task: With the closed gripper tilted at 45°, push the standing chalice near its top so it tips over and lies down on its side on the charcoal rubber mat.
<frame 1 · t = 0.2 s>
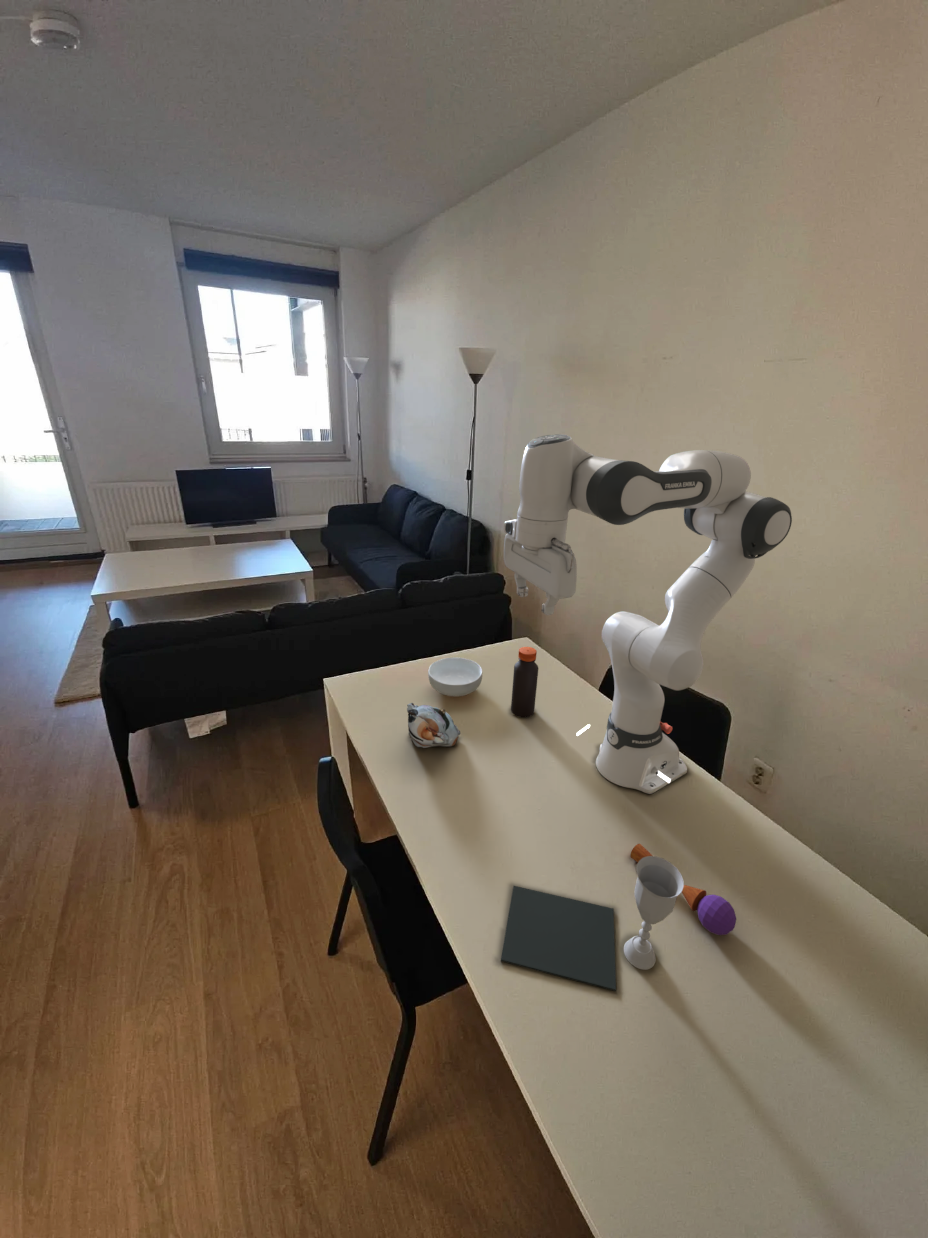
hand: (534, 604, 95), 48 cm above the table, tool pointing down, fingers open, 8 cm apart
chalice: (639, 954, 83), on the table
mat: (559, 934, 86), on the table
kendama: (677, 896, 93), on the table
bottle: (522, 712, 147), on the table
lucky cat figurine: (433, 742, 133), on the table
cereal bowl: (454, 690, 157), on the table
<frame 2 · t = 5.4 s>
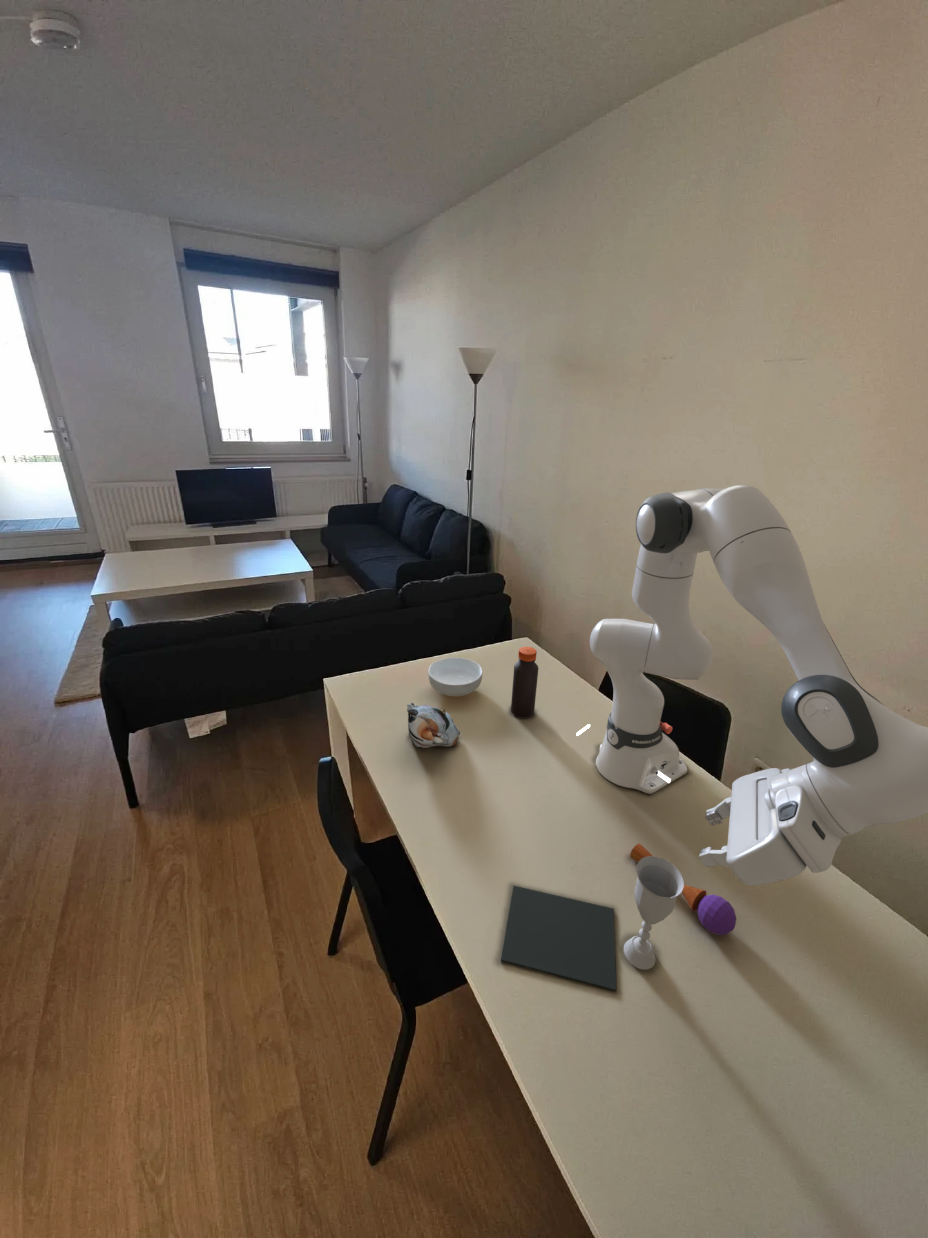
hand: (705, 837, 72), 27 cm above the table, tool tilted 45°, fingers open, 8 cm apart
nothing on the table moved.
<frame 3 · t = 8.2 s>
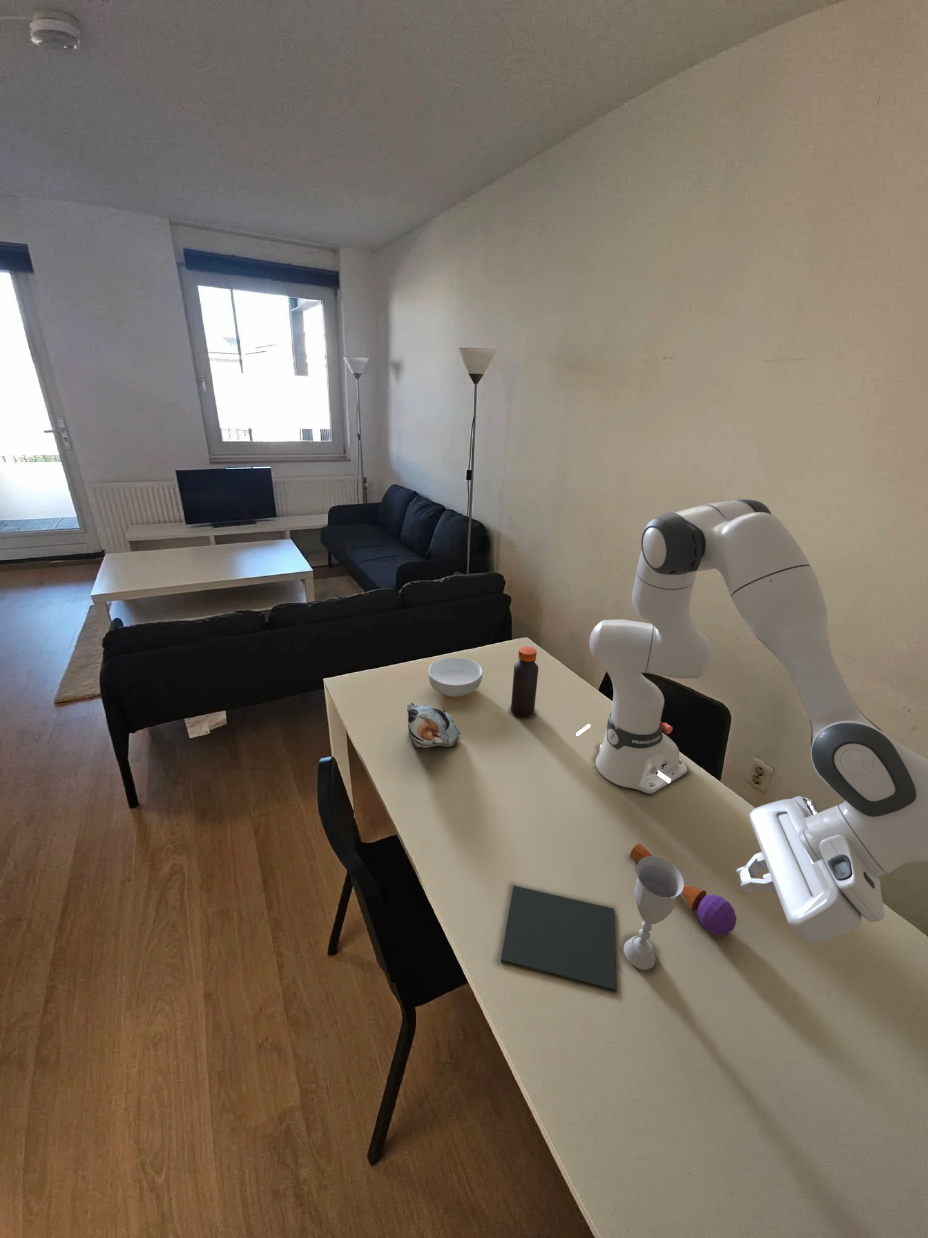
hand: (740, 882, 73), 20 cm above the table, tool tilted 45°, fingers closed
nothing on the table moved.
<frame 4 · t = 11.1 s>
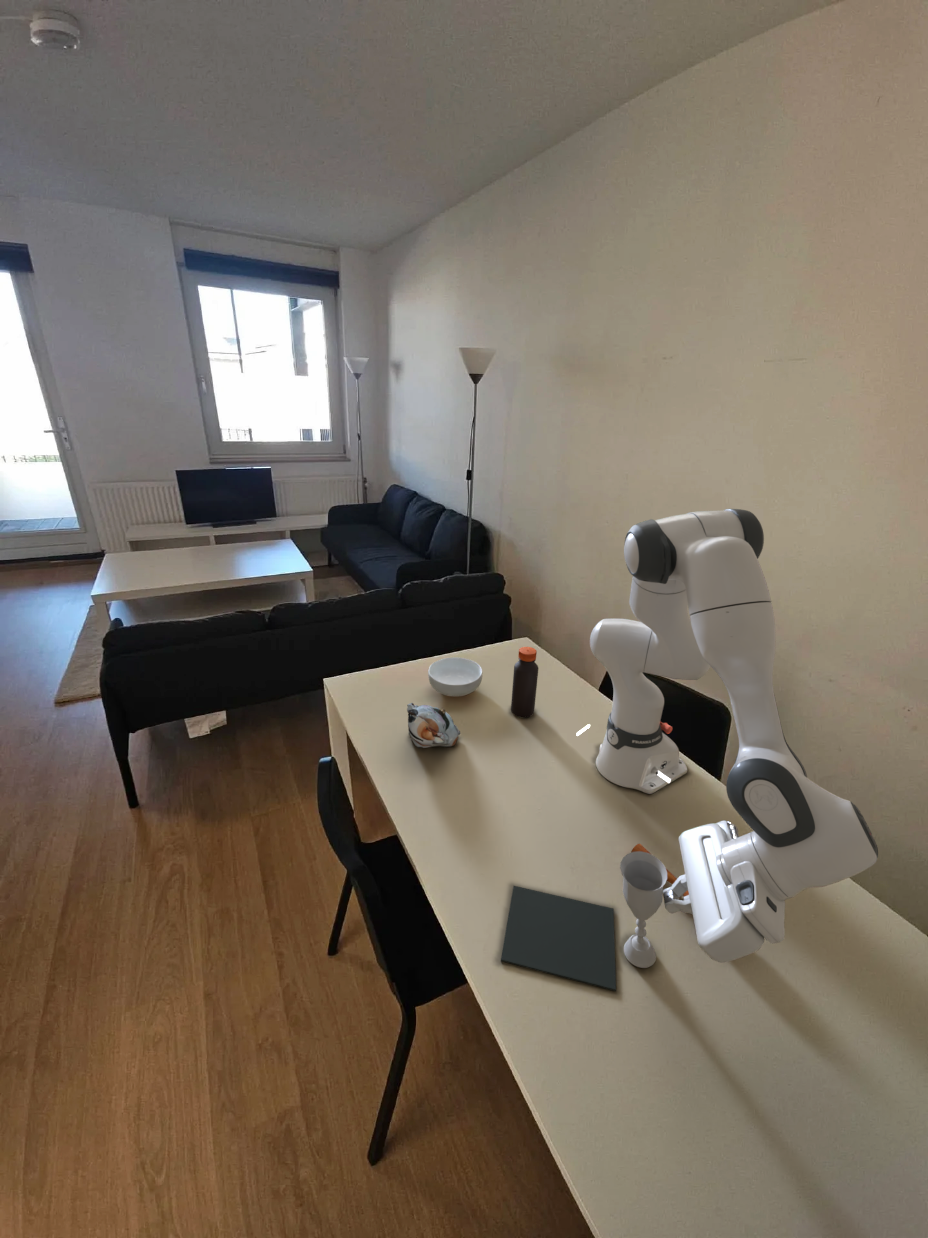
hand: (665, 902, 78), 13 cm above the table, tool tilted 45°, fingers closed
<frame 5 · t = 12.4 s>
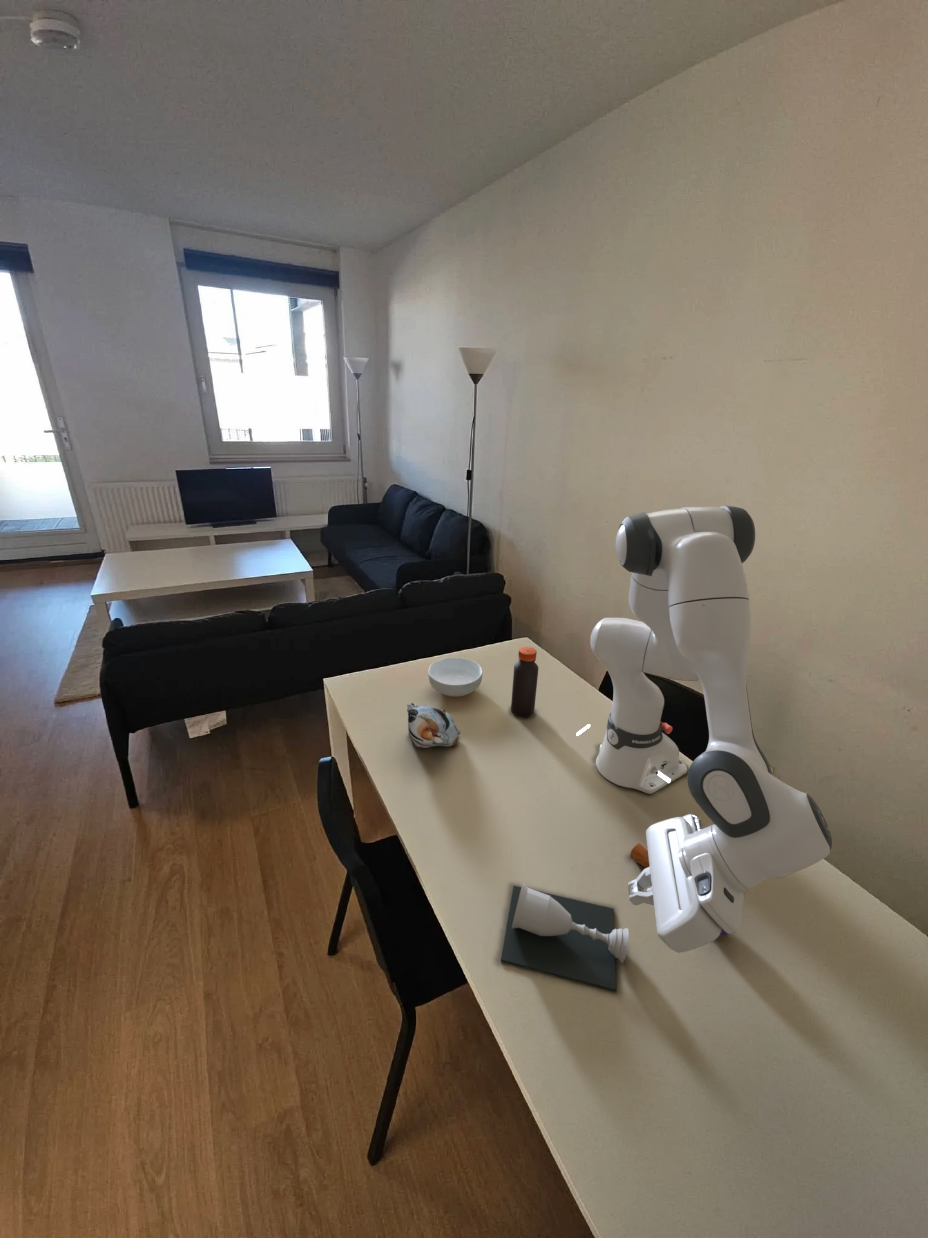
hand: (630, 894, 79), 13 cm above the table, tool tilted 45°, fingers closed
chalice: (626, 946, 82), point 3 cm above the table, touching mat
everything else where it was.
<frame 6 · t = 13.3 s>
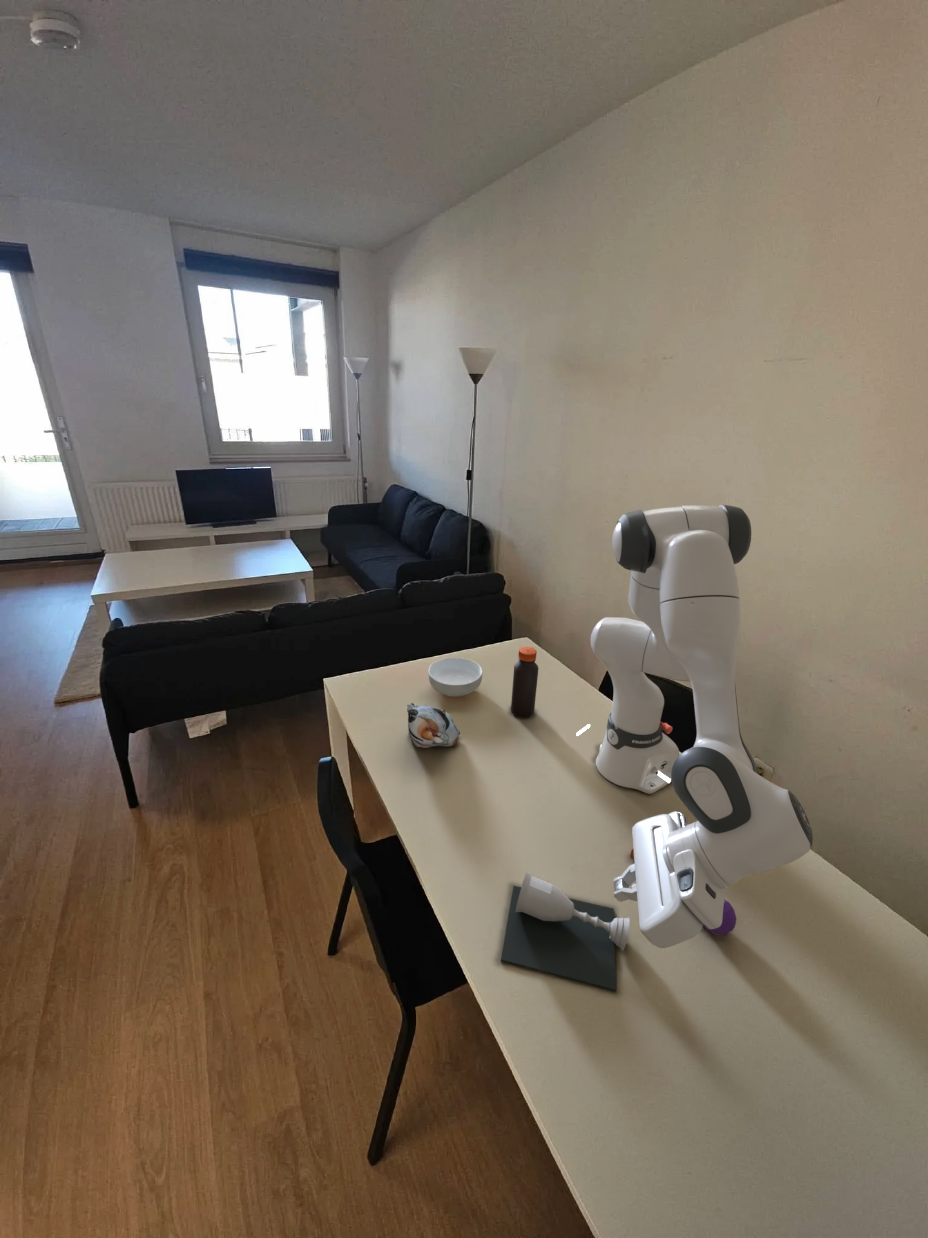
hand: (615, 891, 79), 13 cm above the table, tool tilted 45°, fingers closed
chalice: (626, 934, 84), point 2 cm above the table, touching mat
everything else where it was.
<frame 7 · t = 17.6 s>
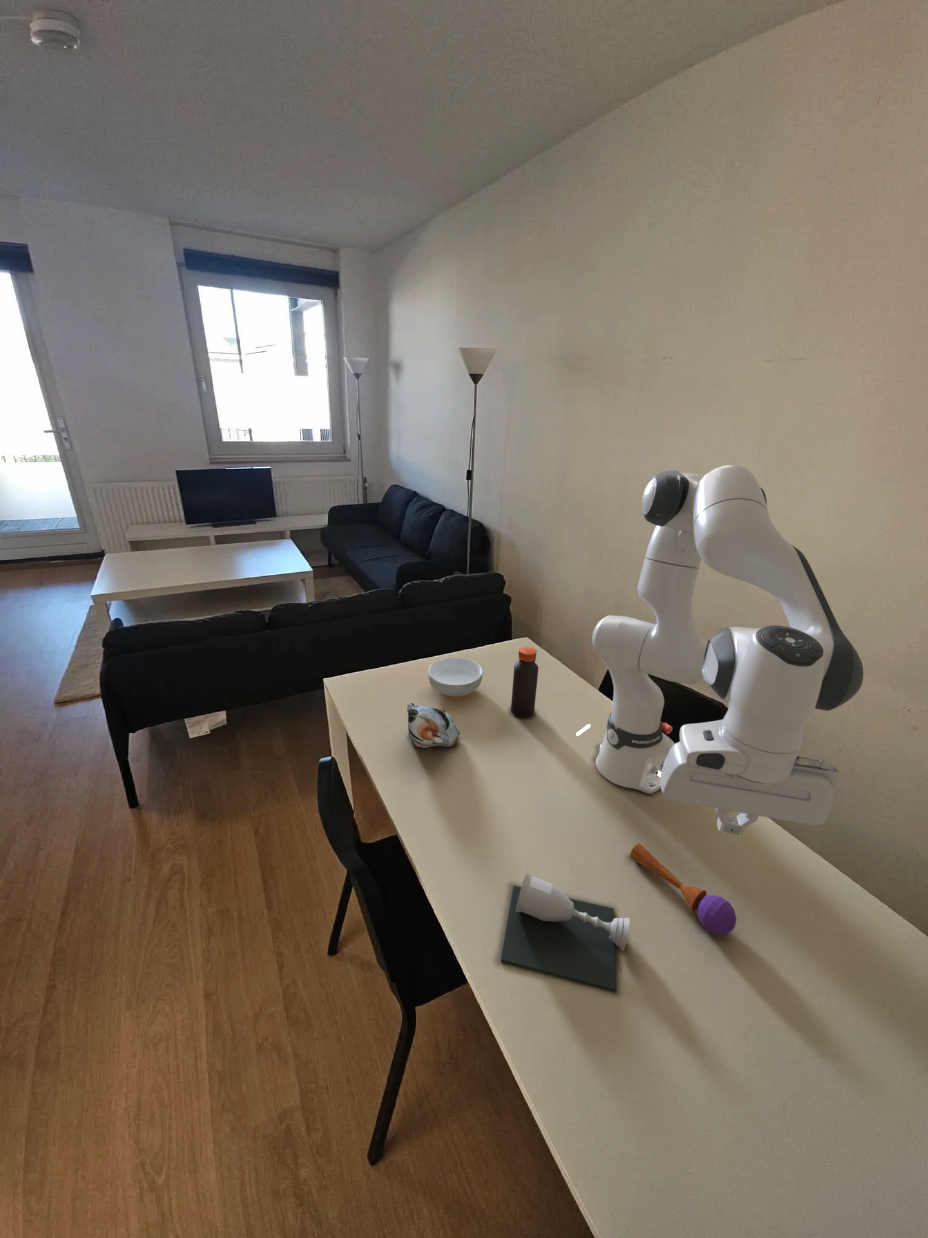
hand: (728, 830, 71), 29 cm above the table, tool pointing down, fingers closed
nothing on the table moved.
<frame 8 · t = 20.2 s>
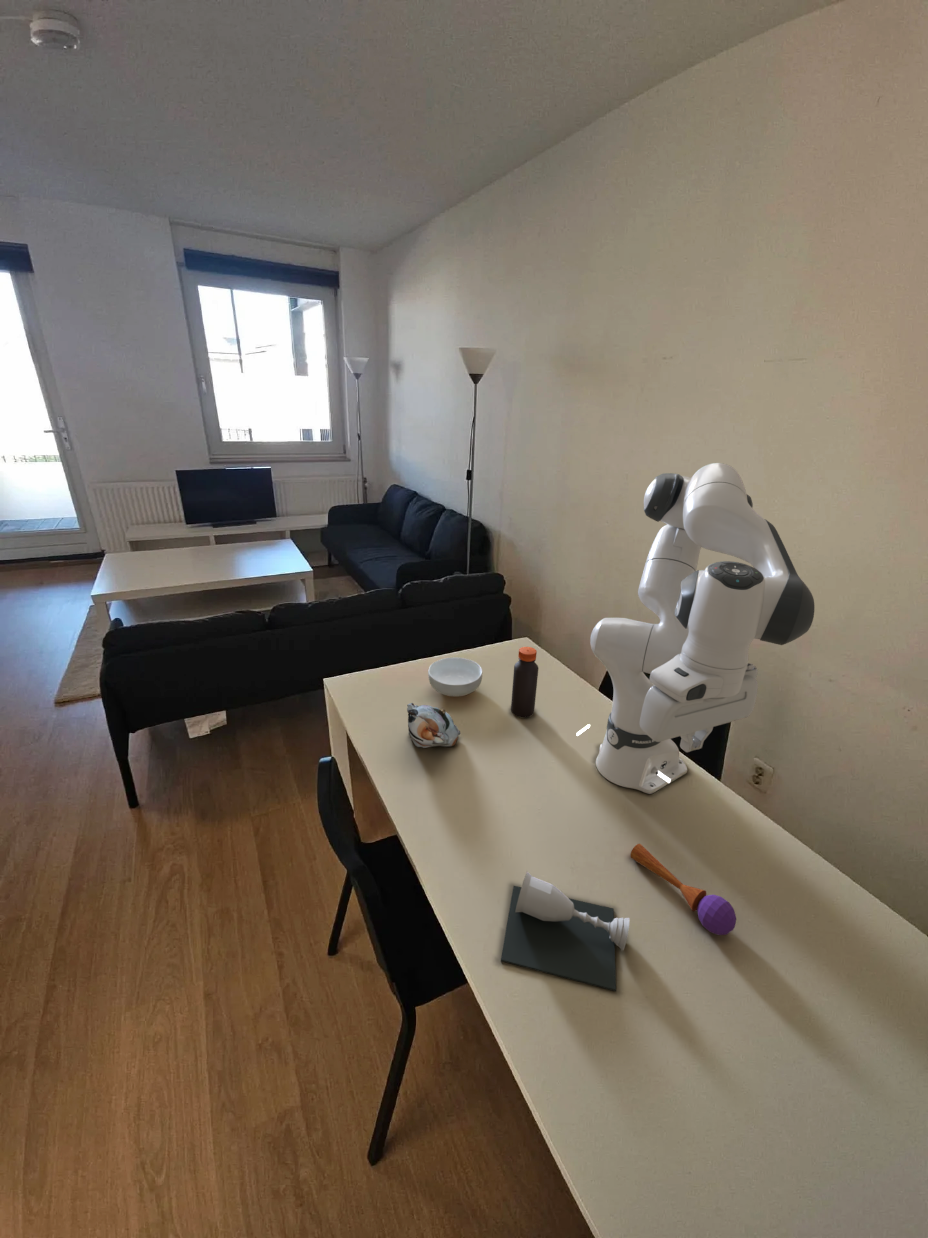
hand: (690, 748, 80), 33 cm above the table, tool pointing down, fingers closed
nothing on the table moved.
at the end: chalice tilted 86°; chalice touching mat, table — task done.
